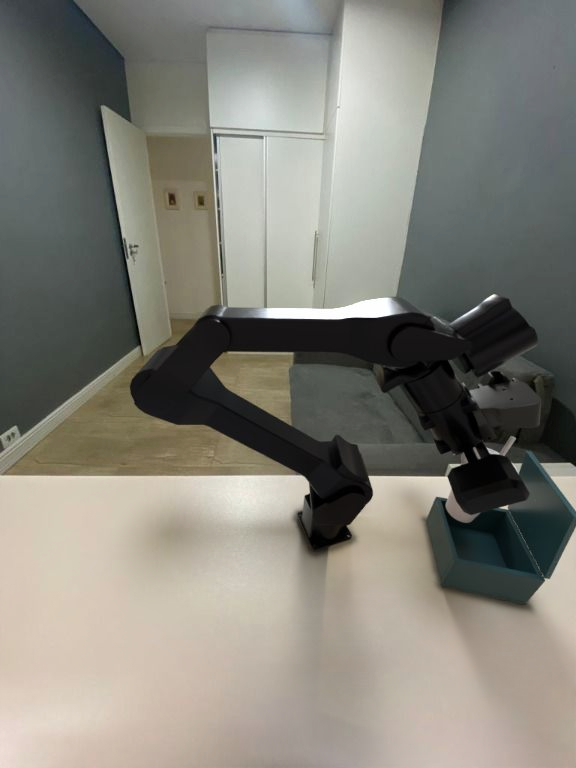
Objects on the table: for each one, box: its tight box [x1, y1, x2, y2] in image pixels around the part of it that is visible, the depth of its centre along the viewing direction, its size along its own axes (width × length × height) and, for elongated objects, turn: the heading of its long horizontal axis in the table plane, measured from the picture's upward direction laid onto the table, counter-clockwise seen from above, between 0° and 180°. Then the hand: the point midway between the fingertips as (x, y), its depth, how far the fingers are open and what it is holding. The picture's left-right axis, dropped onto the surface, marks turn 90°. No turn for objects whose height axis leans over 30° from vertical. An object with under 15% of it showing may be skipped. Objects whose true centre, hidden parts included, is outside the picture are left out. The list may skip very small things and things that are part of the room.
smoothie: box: [446, 435, 519, 523], centre depth 40 cm, size 6×6×14 cm
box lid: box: [507, 450, 576, 580], centre depth 38 cm, size 11×10×1 cm
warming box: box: [425, 496, 546, 605], centre depth 43 cm, size 10×10×6 cm
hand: (490, 482), depth 40 cm, fingers closed on smoothie, 6 cm apart
